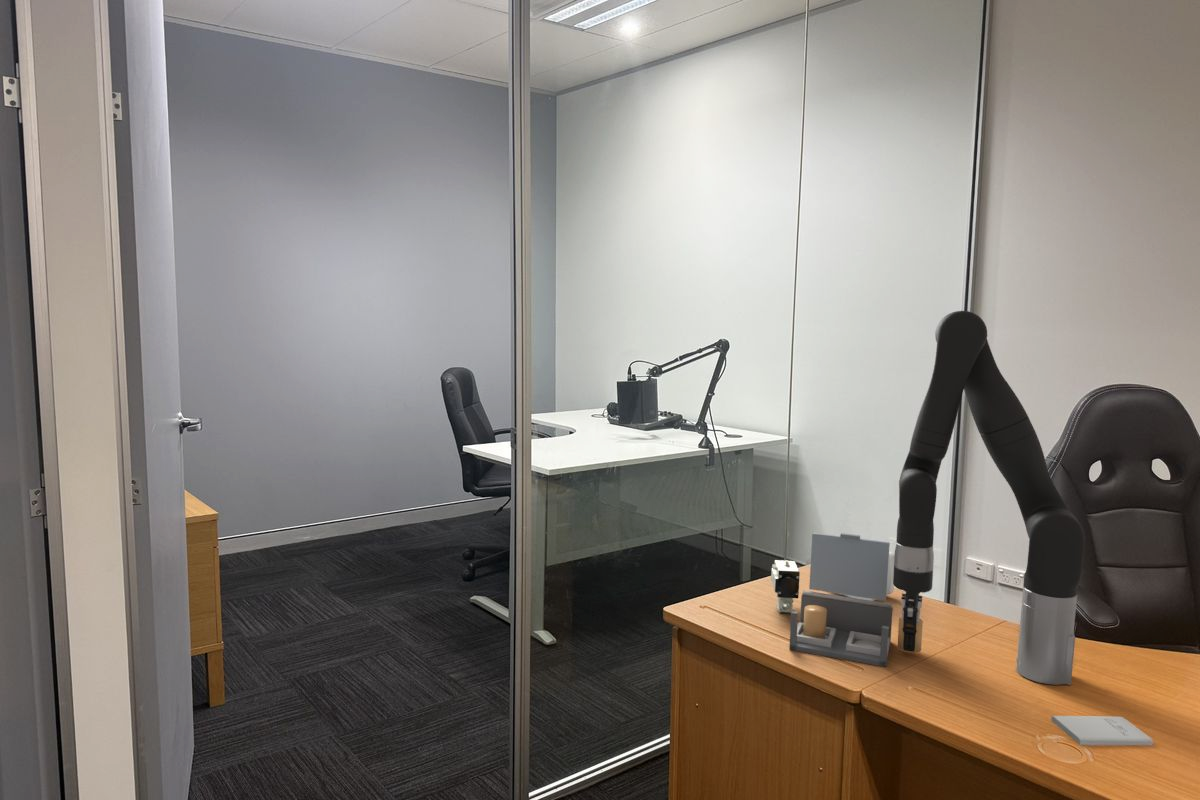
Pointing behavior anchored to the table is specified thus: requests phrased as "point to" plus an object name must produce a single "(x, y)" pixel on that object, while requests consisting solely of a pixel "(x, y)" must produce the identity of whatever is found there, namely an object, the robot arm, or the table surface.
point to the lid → (849, 565)
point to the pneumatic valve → (785, 583)
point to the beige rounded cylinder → (917, 637)
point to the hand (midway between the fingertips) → (909, 645)
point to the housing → (842, 628)
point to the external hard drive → (1101, 730)
